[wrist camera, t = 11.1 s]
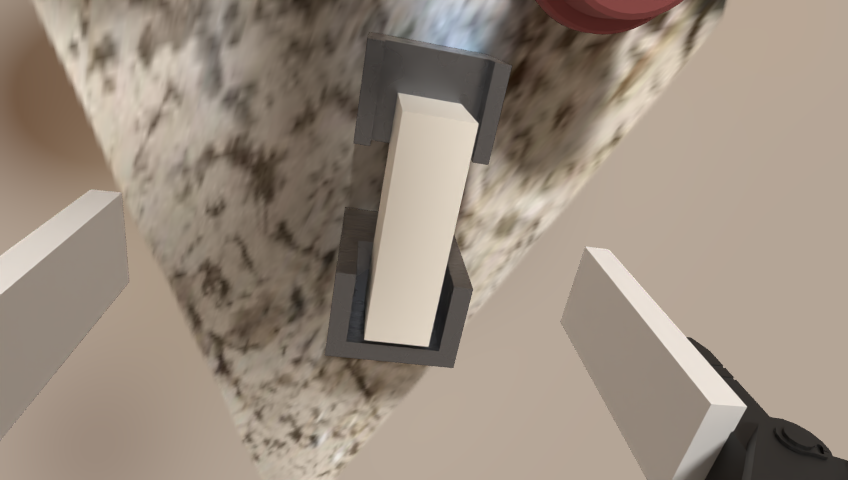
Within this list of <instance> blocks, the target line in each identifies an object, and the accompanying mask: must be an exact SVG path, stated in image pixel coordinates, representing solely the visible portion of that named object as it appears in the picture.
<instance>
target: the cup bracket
mask: <svg viewBox="0 0 848 480" xmlns="http://www.w3.org/2000/svg"><path fill="white" fill-rule="evenodd" d="M377 218H378V212H375V211H368V210H361V209H354V208H347V207H345V213H344V220H343V227H342V234H341V241H340V248H339V255H338V262H337V269H336V277H335V284H334V292H333V299H332V307H331V314H330V322H329V329H328V337H327V344H326V352H325V355H327V356H337V357H347V358H357V359H367V360H377V361H388V362H398V363H408V364H418V365H428V366H438V367H449V368H453V367H454V363H455V359H456V355H457V351H458V347H459V343H460V339H461V335H462V331H463V327H464V323H465V319H466V315H467V311H468V307H469V303H470V299H471V295H472V291H473V288H472V285H471V282H470V279H469V276H468V273H467V270H466V267H465V265H464V262H463V259H462V256H461V253H460V250H459V247H458V244H457V241H456V239H455V236H453V240H452V244H451V249H450V253H449V258H448V262H447V267H446V271H445V275H444V280H443V284H442V289H441V293H440V298H439V302H438V306H437V311H436V315H435V320H434V324H433V328H432V333H431V337H430V342H429V346H428V347H425V346H416V345H406V344H397V343H387V342H378V341H368V340H364V329H365V296H366V286H367V280H368V274H369V268H370V261H371V255H372V249H373V243H374V237H375V231H376V224H377Z"/></svg>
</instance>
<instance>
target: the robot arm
mask: <svg viewBox="0 0 848 480" xmlns="http://www.w3.org/2000/svg"><path fill="white" fill-rule="evenodd" d="M128 283H129V272H128V261H127V248H126V236H125V225H124V212H123V200H122V193H120V192H111V191H102V190H93V189H90V190H89V191H88V192H86V193H85V194H83V195H82V196H81V197H79V198H78V199H77V200H75V201H74V202H73V203H71V204H70V205H69V206H67V207H66V208H64V209H63V210H62V211H60V212H59V213H58V214H56V215H55V216H54V217H52V218H51V219H49V220H48V221H47V222H46V223H44V224H43V225H41V226H40V227H39V228H37V229H36V230H35V231H33V232H32V233H30V234H29V235H28V236H26V237H25V238H24V239H22V240H21V241H20V242H18V243H17V244H16V245H14V246H13V247H11V248H10V249H9V250H7V251H6V252H5V253H3V254H2V255H0V440H1V439H2V438H3V437H4V436H5V434H6V433H7V432H8V430H9V429H10V428H11V427H12V426H13V424H14V423H15V422H16V421H17V420H18V418H19V417H20V416H21V415H22V413H23V412H24V411H25V410H26V408H27V407H28V406H29V405H30V403H31V402H32V401H33V400H34V399H35V397H36V396H37V395H38V394H39V392H40V391H41V390H42V389H43V388H44V386H45V385H46V384H47V382H48V381H49V380H50V379H51V378H52V376H53V375H54V374H55V373H56V371H57V370H58V369H59V368H60V367H61V365H62V364H63V363H64V362H65V360H66V359H67V358H68V357H69V356H70V354H71V353H72V352H73V350H74V349H75V348H76V347H77V346H78V344H79V343H80V342H81V341H82V340H83V338H84V337H85V336H86V335H87V333H88V332H89V331H90V330H91V328H92V327H93V326H94V325H95V324H96V322H97V321H98V320H99V318H100V317H101V316H102V315H103V314H104V312H105V311H106V310H107V309H108V307H109V306H110V305H111V304H112V303H113V301H114V300H115V299H116V298H117V296H118V295H119V294H120V293H121V292H122V290H123V289H124V288H125V287H126V285H127V284H128ZM561 324H562V326H563V328H564V329H565V331H566V333H567V335H568V337H569V339H570V340H571V342H572V344H573V346H574V348H575V349H576V351H577V353H578V355H579V357H580V359H581V360H582V362H583V364H584V366H585V367H586V370H587V371H588V373H589V375H590V377H591V379H592V380H593V382H594V384H595V386H596V388H597V390H598V391H599V393H600V395H601V397H602V399H603V400H604V402H605V404H606V406H607V408H608V410H609V411H610V413H611V415H612V417H613V419H614V421H615V422H616V424H617V426H618V428H619V430H620V431H621V433H622V435H623V437H624V439H625V441H626V442H627V444H628V446H629V448H630V450H631V452H632V453H633V455H634V457H635V459H636V460H637V462H638V464H639V466H640V468H641V470H642V471H643V473H644V475H645V477H646V479H647V480H848V461H847V460H844V459H840V458H837V457H833V456H832V453H831V451H830V450H829V449H828V448H827V447H826V445H825V444H824V443H823V442H822V441H821V440H819V439H818V438H817V437H816V436H814V435H813V434H812V433H811V432H809V431H807V430H805V429H804V428H802V427H800V426H798V425H797V424H794V423H792V422H789V421H786V420H784V419H779V418H772V417H769V416H768V414H767V413H766V412H765V411H764V410H763V409H762V408H761V407H760V406H759V404H758V403H756V401H755V400H754V399H753V398H752V397H751V396H750V395H749V394H748V392H747V391H746V390H745V389H744V388H743V387H742V386H741V385H740V384H739V383H738V381H737V380H734V379H733V376H732V375H731V374H730V373H729V372H728V370H727V369H726V368H723V365H722V364H721V363H720V362H719V361H718V359H717V358H716V357H715V356H714V355H713V354H712V353H711V352H710V351H709V350H708V349H706V348H705V347H703V346H702V345H701V344H699V343H698V342H696V341H695V340H693V339H692V338H689V337H685V336H684V334H683V333H682V332H681V331H680V330H679V329H678V328H677V326H676V325H675V324H674V323H673V322H672V321H671V320H670V318H669V317H668V316H667V315H666V314H665V313H664V312H663V310H662V309H661V308H660V307H659V306H658V305H657V304H656V302H655V301H654V300H653V299H652V298H651V297H650V296H649V294H647V292H646V291H645V290H644V289H643V288H642V286H641V285H639V283H638V282H637V281H636V280H635V279H634V277H633V276H632V275H631V274H630V273H629V272H628V271H627V269H626V268H625V267H624V266H623V265H622V264H621V263H620V262H619V260H618V259H617V258H616V257H615V256H614V255H613V254H612V253H611V251H610V250H609V249H601V248H592V247H585V249H584V252H583V255H582V258H581V261H580V264H579V267H578V270H577V273H576V276H575V279H574V282H573V285H572V288H571V291H570V295H569V297H568V300H567V303H566V307H565V310H564V312H563V316H562V319H561Z"/></svg>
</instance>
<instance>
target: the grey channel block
mask: <svg viewBox="0 0 848 480" xmlns="http://www.w3.org/2000/svg"><path fill="white" fill-rule="evenodd" d="M511 68H512V65H510V64H507V63H505V62H503V61H501V60H498V59H496V58H494V57H492V56H489V55H487V54H483V53H477V52H472V51H467V50H462V49H457V48H452V47H446V46H441V45H436V44H431V43H426V42H421V41H415V40H410V39H405V38H400V37H395V36H389V35H384V34H379V33H374V32H369V34H368V39H367V46H366V54H365V61H364V69H363V76H362V84H361V91H360V99H359V106H358V114H357V121H356V129H355V136H354V143H355V144H361V145H367V146H370V144H371V140H375V141H381V142H387V143H390V138H391V132H392V126H393V119H394V113H395V107H396V101H397V95H398V93H403V94H408V95H414V96H420V97H425V98H431V99H436V100H442V101H448V102H453V103H459V104H462V105H463V106H464V108H465V109H466V110H467V111H468V112H469V113H470V114H471V116H472V117H473V118H474V119H475V120H476V121H477V122H478V124H479V125H478V129H477V134H476V138H475V143H474V147H473V151H472V156H471V160H472V162H473V163H480V164H486V165H488V164H489V160H490V155H491V151H492V147H493V143H494V139H495V135H496V130H497V126H498V122H499V118H500V114H501V109H502V105H503V101H504V97H505V93H506V89H507V84H508V80H509V76H510V72H511Z"/></svg>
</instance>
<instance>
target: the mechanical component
mask: <svg viewBox="0 0 848 480" xmlns="http://www.w3.org/2000/svg"><path fill="white" fill-rule="evenodd" d="M535 1H536V2H537V3H538V4H539V6H540V7H541V8H542V9H543V10H544V11H545V12H546V13H547V14H548V15H549V16H550V17H551V18H552V19H554V20H555V21H557V22H558V23H560V24H561V25H564V26H566V27H568V28H570V29H573V30H577V31H580V32H585V33H593V34H614V33H620V32H624V31H628V30H631V29H634V28H636V27H638V26H641V25H643V24H645V23H647V22H648V21H650V20H651V19H653V18H654V17H656V16H658V15H659V14H661V13H663V12H666V11H668V10H670V9H671V8H673V7H675V6H676V5H678V4H679V3H681V2H682V1H683V0H535Z"/></svg>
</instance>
